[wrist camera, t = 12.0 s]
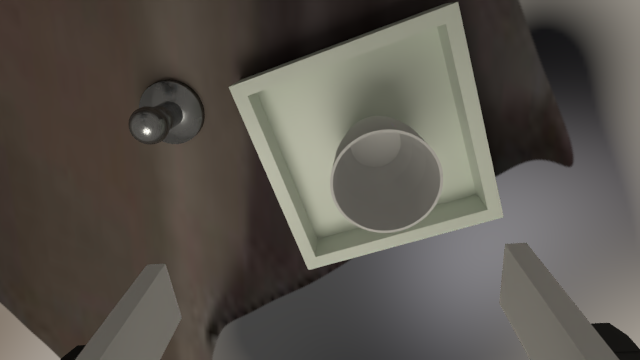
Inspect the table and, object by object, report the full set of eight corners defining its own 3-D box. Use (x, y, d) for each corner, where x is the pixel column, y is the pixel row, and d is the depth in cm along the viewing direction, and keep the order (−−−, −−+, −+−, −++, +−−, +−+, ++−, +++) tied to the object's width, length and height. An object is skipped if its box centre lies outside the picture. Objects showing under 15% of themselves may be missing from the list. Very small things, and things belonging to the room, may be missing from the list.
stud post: (131, 92, 38) (89, 107, 32) (186, 71, 37) (154, 82, 31) (161, 149, 40) (127, 174, 34) (214, 130, 39) (189, 152, 33)
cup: (315, 139, 38) (307, 179, 29) (381, 82, 36) (395, 105, 26) (370, 197, 40) (378, 251, 31) (436, 146, 38) (466, 188, 28)
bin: (240, 80, 37) (228, 87, 33) (445, 3, 33) (458, 1, 30) (311, 248, 43) (308, 269, 40) (488, 198, 40) (503, 217, 36)
